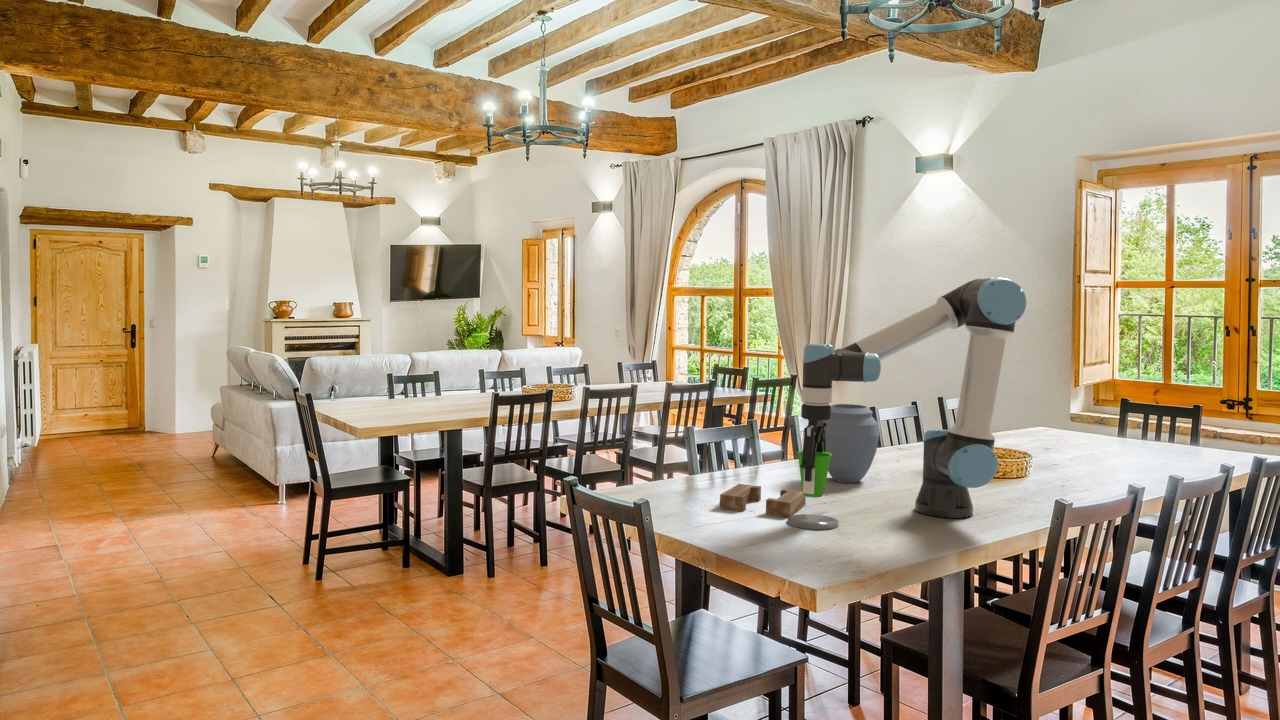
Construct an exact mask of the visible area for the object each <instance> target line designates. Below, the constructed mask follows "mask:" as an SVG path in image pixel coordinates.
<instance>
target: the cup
mask: <svg viewBox="0 0 1280 720" xmlns="http://www.w3.org/2000/svg"><path fill="white" fill-rule="evenodd" d="M802 454H803V450H799V451H797V452H796V455H798V459H797V460H798V467H799V473H800V480H801V481H800V483H801V489H802V490H801V491H803V476H804V468H801V467H800V465H801V463H802ZM831 456H832V454H831V453H828V452H816V456H815V462H814V468H815V482H814V494H806V493H803V495H804V496H806V497H807V498H817V499H818V498H823V496H824V494H825V493H824V492H825V488H826V483H827V478H828V473H829V472H828V468H829V463H830V458H831ZM808 463H809V462H808Z"/></svg>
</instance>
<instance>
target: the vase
mask: <svg viewBox="0 0 1280 720" xmlns="http://www.w3.org/2000/svg"><path fill="white" fill-rule="evenodd" d="M830 406H831V418H830V419H829V420H823V422H825V423H826V424H827V426H826V452H828V453H831V454H832V456H831V458H830V463H829V468H828V473H829V475H830V477H832V479H833V480H834V481H836V482H839V483H845V484H855V483H858V482H860V481H861V480H863V478H864V477H865V476H866V474H867V473H868V471H869V470H870V468H871V466H872V463H873V460H874V458H875V456H876V453H877V449H878V443H879V440H880V439H879V438H880V429H879V423H878V422H877V420H876V419H875V417H873V411H872V410H871V409H870V408H869V407H868V406H865V405H861V404H848V403H841V404H839V403H838V404H831V405H830Z"/></svg>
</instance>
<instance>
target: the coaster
mask: <svg viewBox="0 0 1280 720" xmlns="http://www.w3.org/2000/svg"><path fill="white" fill-rule="evenodd" d="M787 523H788V524H789V525H790V526H792V527H794V528H798V529H803V530H811V531H826V530H827V531H829V530H833V529H837V528H838V527H839V524H840V523H839V520H838V519H837V518H834V517H831V516H827V515H822V514H814V513H813V514H812V513H808V514H807V513H806V514H805V513H804V514H803V513H801V514H794V515H793V516H790V517H787Z"/></svg>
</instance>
